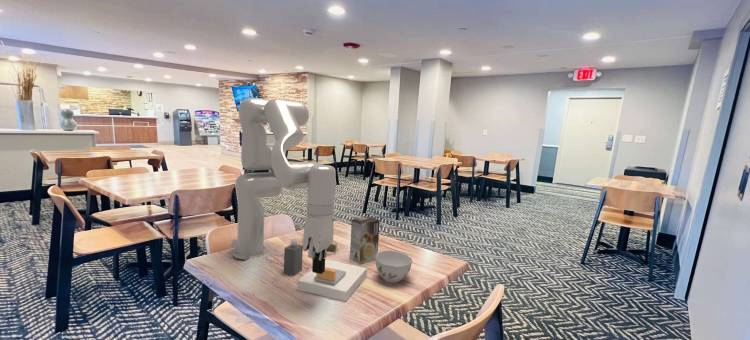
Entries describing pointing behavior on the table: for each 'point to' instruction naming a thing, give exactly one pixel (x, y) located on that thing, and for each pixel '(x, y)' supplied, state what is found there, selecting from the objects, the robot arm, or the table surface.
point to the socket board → (341, 288)
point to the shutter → (330, 276)
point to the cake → (332, 248)
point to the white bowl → (393, 265)
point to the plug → (293, 258)
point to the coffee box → (364, 239)
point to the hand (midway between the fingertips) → (318, 271)
